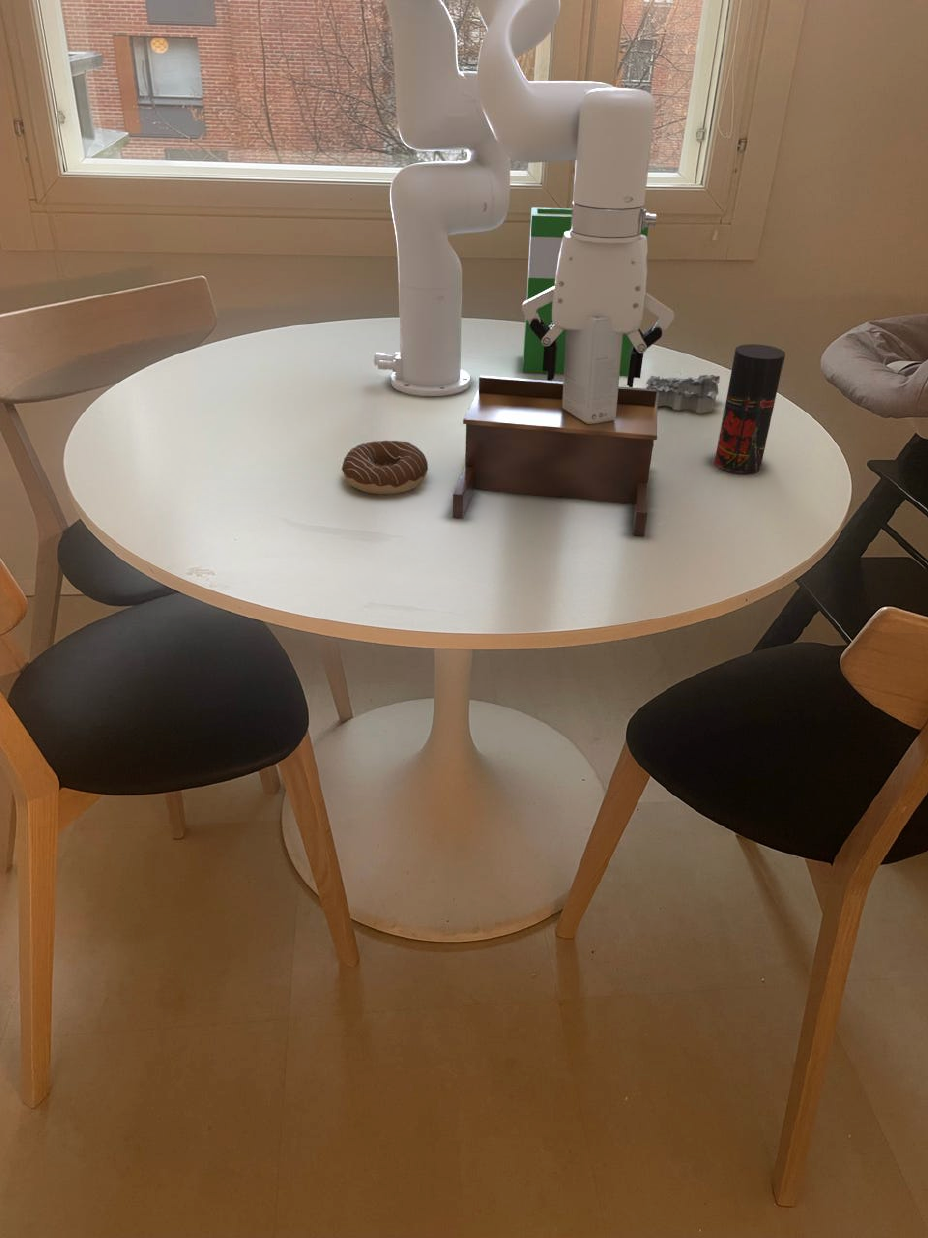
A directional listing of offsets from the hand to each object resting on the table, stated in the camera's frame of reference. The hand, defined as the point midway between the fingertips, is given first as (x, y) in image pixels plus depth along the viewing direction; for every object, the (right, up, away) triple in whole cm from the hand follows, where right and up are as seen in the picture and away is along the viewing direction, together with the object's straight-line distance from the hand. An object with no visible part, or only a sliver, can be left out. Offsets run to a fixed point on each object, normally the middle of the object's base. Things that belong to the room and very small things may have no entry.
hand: (590, 379), depth 106 cm
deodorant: (+21, -8, +13) cm, 26 cm away
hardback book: (+4, +14, +46) cm, 48 cm away
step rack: (-4, -13, +5) cm, 14 cm away
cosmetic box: (0, -4, +2) cm, 4 cm away
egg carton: (+18, +5, +32) cm, 37 cm away
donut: (-25, -11, +7) cm, 28 cm away
